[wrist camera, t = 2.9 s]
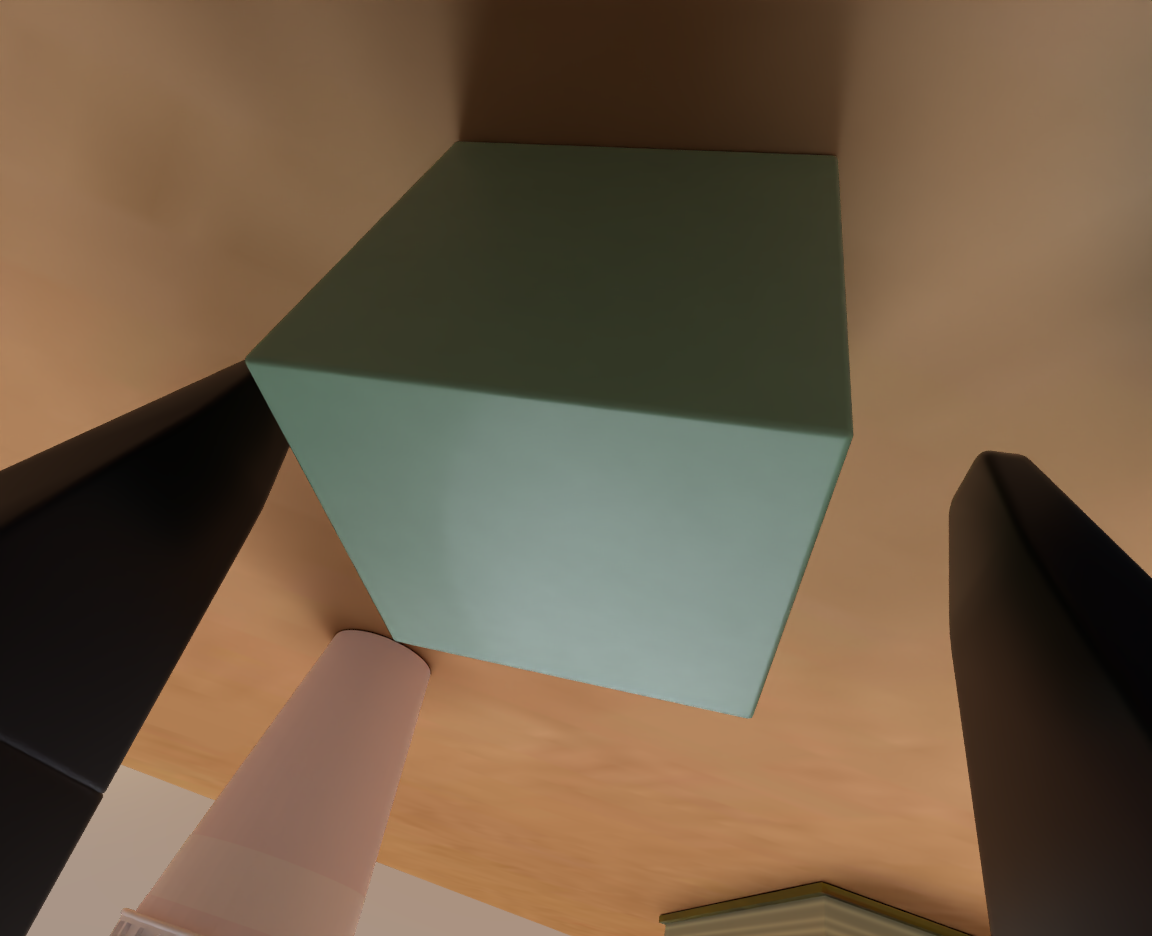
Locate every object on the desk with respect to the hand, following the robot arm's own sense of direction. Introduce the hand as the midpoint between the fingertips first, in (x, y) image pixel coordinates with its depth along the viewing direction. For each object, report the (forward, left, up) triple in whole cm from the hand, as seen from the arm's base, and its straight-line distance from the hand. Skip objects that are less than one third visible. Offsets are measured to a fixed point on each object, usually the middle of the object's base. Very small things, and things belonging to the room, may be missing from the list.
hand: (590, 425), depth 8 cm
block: (0, 0, -3) cm, 3 cm away
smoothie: (-16, -8, -3) cm, 18 cm away
